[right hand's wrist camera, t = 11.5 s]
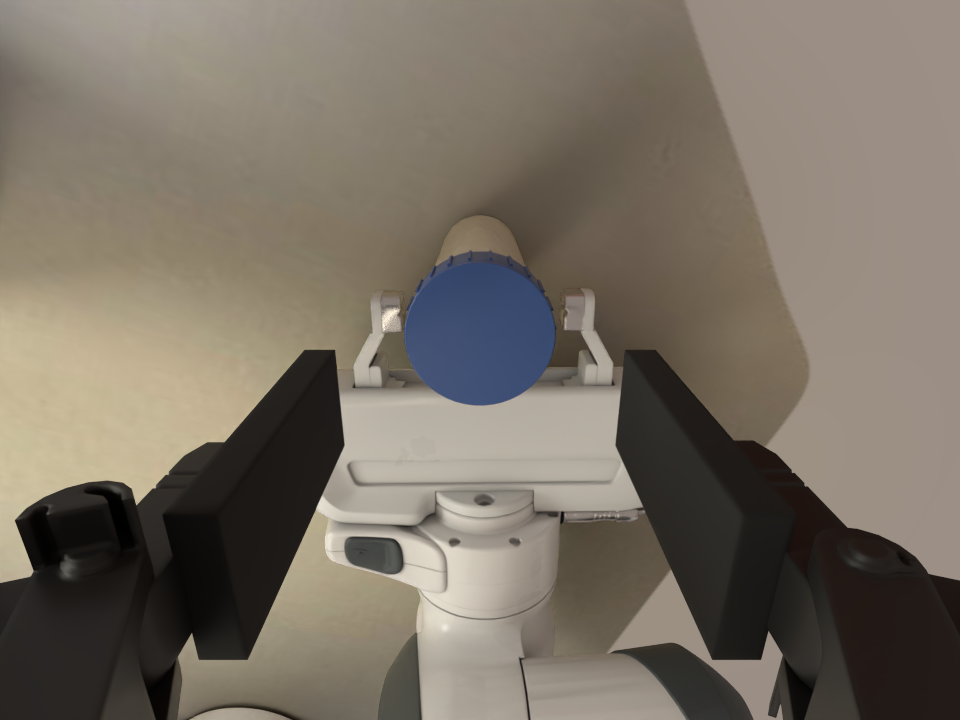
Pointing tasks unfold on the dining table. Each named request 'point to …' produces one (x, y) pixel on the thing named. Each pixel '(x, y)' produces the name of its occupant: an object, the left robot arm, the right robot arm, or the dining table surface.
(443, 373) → the lid
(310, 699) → the dining table surface
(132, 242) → the dining table surface
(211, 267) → the dining table surface
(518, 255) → the jar
